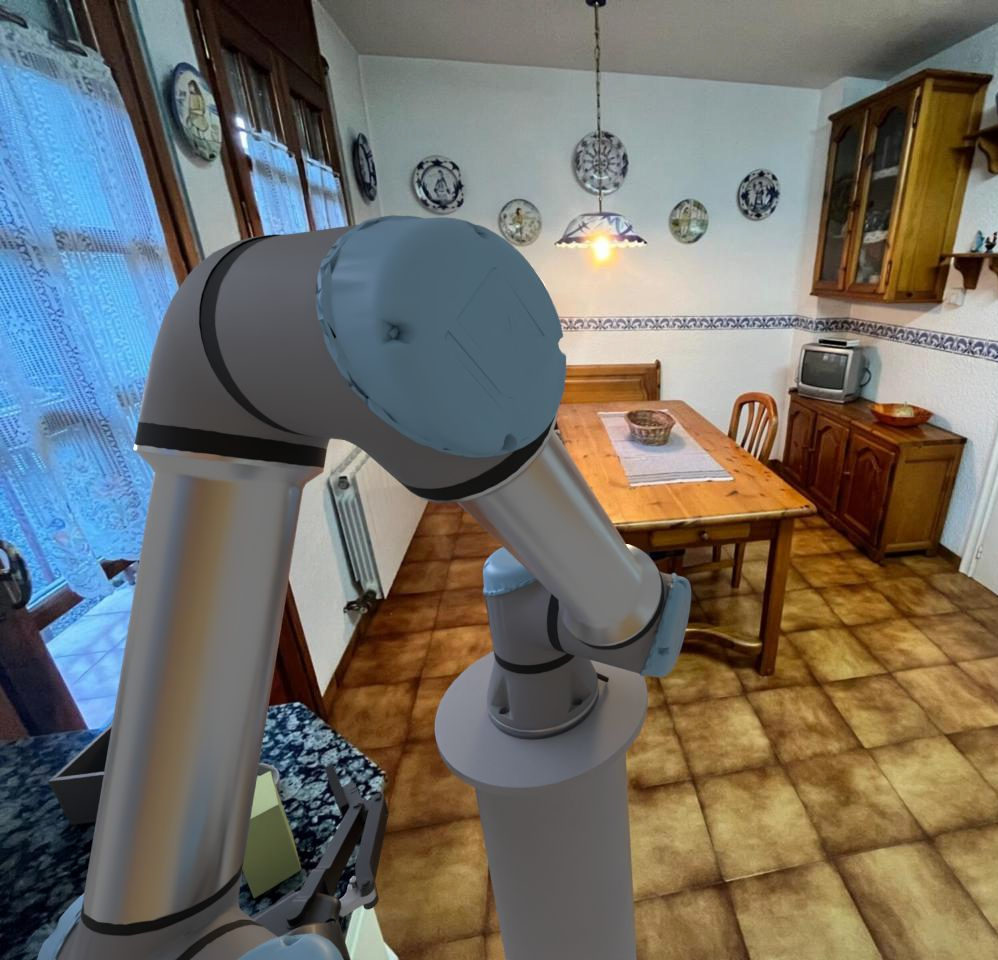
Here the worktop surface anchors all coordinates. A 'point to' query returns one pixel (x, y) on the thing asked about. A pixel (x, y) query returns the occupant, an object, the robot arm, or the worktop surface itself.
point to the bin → (83, 781)
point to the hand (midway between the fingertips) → (256, 814)
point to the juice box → (268, 840)
